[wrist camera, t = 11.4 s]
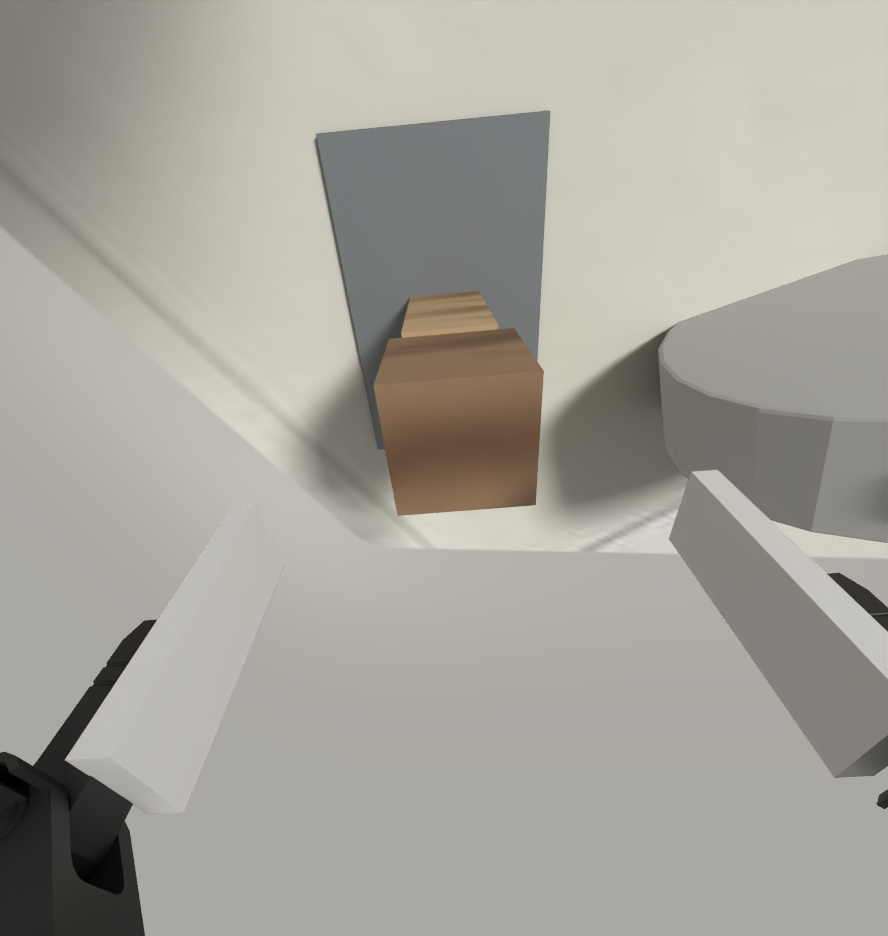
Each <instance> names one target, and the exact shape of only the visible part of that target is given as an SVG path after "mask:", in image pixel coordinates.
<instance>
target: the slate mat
mask: <svg viewBox="0 0 888 936" xmlns="http://www.w3.org/2000/svg"><path fill="white" fill-rule="evenodd" d="M549 124H550V111H540V112H530V113H520V114H510V115H500V116H490V117H480V118H470V119H459V120H449V121H439V122H429V123H419V124H409V125H399V126H389V127H379V128H369V129H359V130H349V131H339V132H329V133H319V134H316V137H317V142H318V147H319V152H320V157H321V162H322V167H323V172H324V177H325V182H326V188H327V193H328V198H329V203H330V208H331V213H332V218H333V223H334V228H335V233H336V238H337V243H338V248H339V253H340V258H341V263H342V268H343V274H344V279H345V284H346V289H347V294H348V299H349V304H350V309H351V314H352V319H353V324H354V329H355V334H356V339H357V344H358V349H359V354H360V360H361V365H362V370H363V375H364V380H365V385H366V390H367V395H368V400H369V405H370V410H371V415H372V420H373V425H374V430H375V435H376V440H377V446H378V449H385V445H384V440H383V434H382V429H381V424H380V418H379V413H378V408H377V403H376V397H375V392H374V387H373V385H374V382H375V379H376V376H377V373H378V370H379V367H380V364H381V361H382V358H383V355H384V352H385V349H386V346H387V344H388V341H389V339H394V338H402V335H401V331H402V327H403V324H404V320H405V316H406V312H407V308H408V304H409V300H410V297H415V296H426V295H437V294H448V293H459V292H471V291H479V292H480V293H481V295H482V297H483V299H484V301H485V302H486V304H487V306H488V308H489V309H490V311H491V313H492V315H493V316H494V318H495V320H496V322H497V323H498V329H507V328H514V329H515V330H516V331H517V333H518V334H519V336H520V337H521V339H522V340H523V342H524V343H525V345H526V346H527V347H528V349H529V350H530V352H531V353H532V355H533V356H534V358H535V359H536V361H537V355H538V336H539V317H540V298H541V278H542V259H543V240H544V220H545V201H546V182H547V163H548V143H549Z"/></svg>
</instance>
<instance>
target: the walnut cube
mask: <svg viewBox="0 0 888 936" xmlns="http://www.w3.org/2000/svg"><path fill="white" fill-rule="evenodd" d="M543 373H544V371H543V369H542V368H541V366H540V365H539V363H538V362H537V361H536V359H535V358H534V356H533V355H532V353H531V352H530V350H529V349H528V347H527V346H526V345H525V343H524V342H523V340H522V339H521V337H520V336H519V334H518V333H517V331H516V330H515V329H514V328H507V329H496V330H485V331H473V332H462V333H450V334H439V335H428V336H416V337H405V338H394V339H389V341H388V344H387V346H386V349H385V352H384V355H383V358H382V361H381V364H380V367H379V370H378V373H377V376H376V379H375V382H374V385H373V387H374V392H375V397H376V403H377V408H378V413H379V418H380V424H381V429H382V434H383V440H384V445H385V450H386V456H387V461H388V466H389V472H390V477H391V482H392V488H393V493H394V498H395V504H396V509H397V514H398V516H400V515H413V514H426V513H439V512H452V511H465V510H478V509H491V508H504V507H517V506H530V505H536V488H537V472H538V456H539V439H540V423H541V406H542V390H543Z"/></svg>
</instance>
